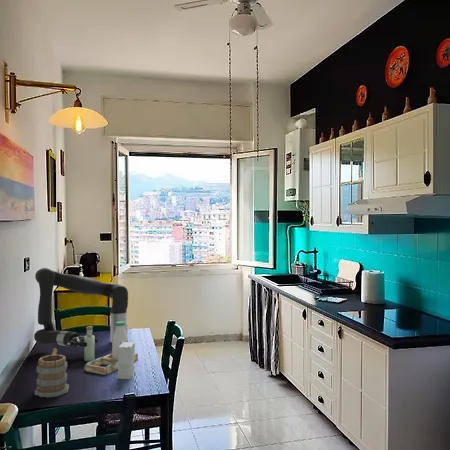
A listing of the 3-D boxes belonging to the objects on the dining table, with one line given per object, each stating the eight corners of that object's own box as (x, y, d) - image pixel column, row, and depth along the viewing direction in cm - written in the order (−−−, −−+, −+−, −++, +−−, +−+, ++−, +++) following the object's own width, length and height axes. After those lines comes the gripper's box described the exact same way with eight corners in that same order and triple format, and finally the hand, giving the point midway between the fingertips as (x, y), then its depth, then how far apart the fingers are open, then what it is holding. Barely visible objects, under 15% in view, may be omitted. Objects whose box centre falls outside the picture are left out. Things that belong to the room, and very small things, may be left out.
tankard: (66, 396, 182) (66, 359, 182) (32, 398, 179) (32, 361, 179) (72, 379, 202) (72, 345, 201) (42, 381, 199) (42, 347, 199)
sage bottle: (88, 357, 233) (89, 325, 233) (96, 358, 231) (96, 326, 231) (82, 360, 228) (82, 327, 228) (89, 361, 226) (90, 328, 226)
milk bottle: (114, 364, 222) (114, 324, 221) (110, 360, 229) (110, 321, 228) (129, 362, 225) (129, 322, 225) (125, 358, 232) (125, 319, 232)
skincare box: (122, 373, 210) (122, 341, 210) (134, 373, 210) (135, 341, 209) (117, 379, 201) (117, 346, 201) (131, 379, 201) (131, 346, 201)
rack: (117, 356, 235) (117, 350, 235) (137, 359, 230) (137, 353, 230) (84, 371, 212) (84, 364, 212) (105, 374, 207) (105, 367, 207)
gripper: (57, 334, 229) (82, 338, 222) (77, 328, 242) (101, 332, 235) (57, 349, 229) (82, 353, 222) (77, 342, 242) (101, 346, 235)
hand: (92, 342), depth 229 cm, fingers open, 8 cm apart
